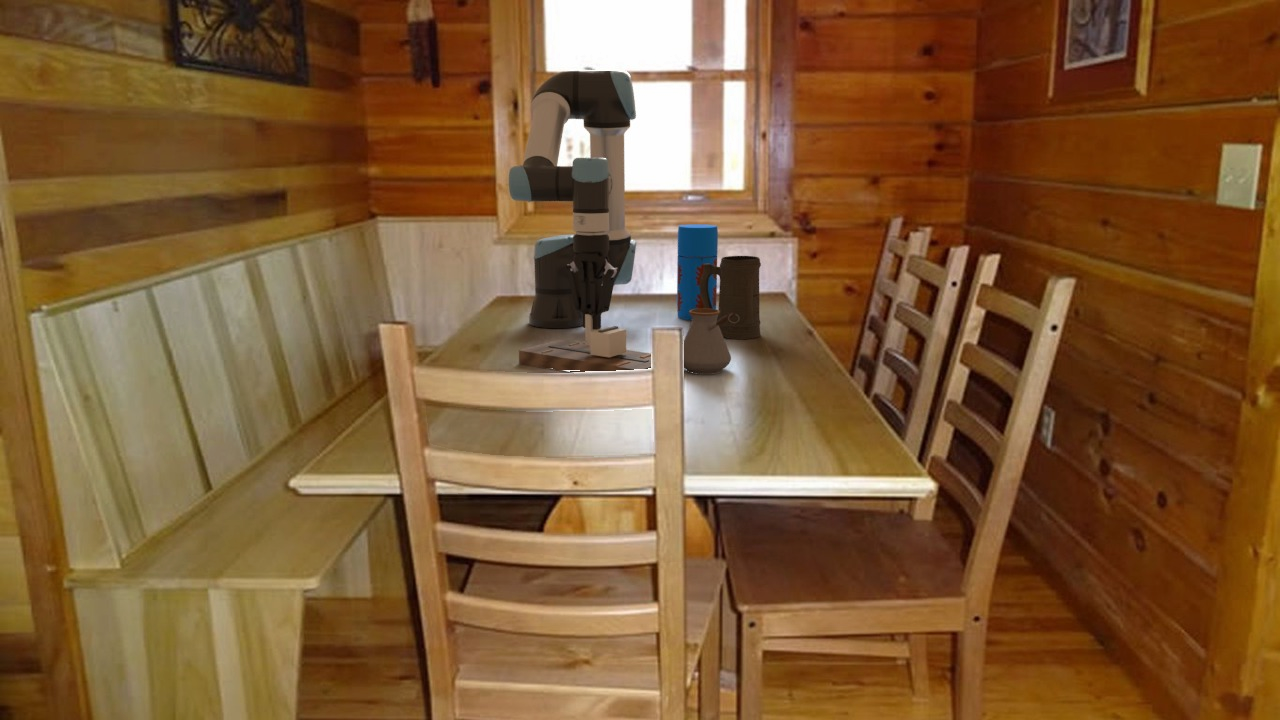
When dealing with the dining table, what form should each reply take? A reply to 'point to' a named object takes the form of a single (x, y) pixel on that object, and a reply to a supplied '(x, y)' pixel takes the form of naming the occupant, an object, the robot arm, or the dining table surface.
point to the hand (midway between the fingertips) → (592, 343)
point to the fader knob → (608, 341)
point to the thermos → (695, 266)
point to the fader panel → (580, 358)
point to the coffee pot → (706, 342)
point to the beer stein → (736, 295)
